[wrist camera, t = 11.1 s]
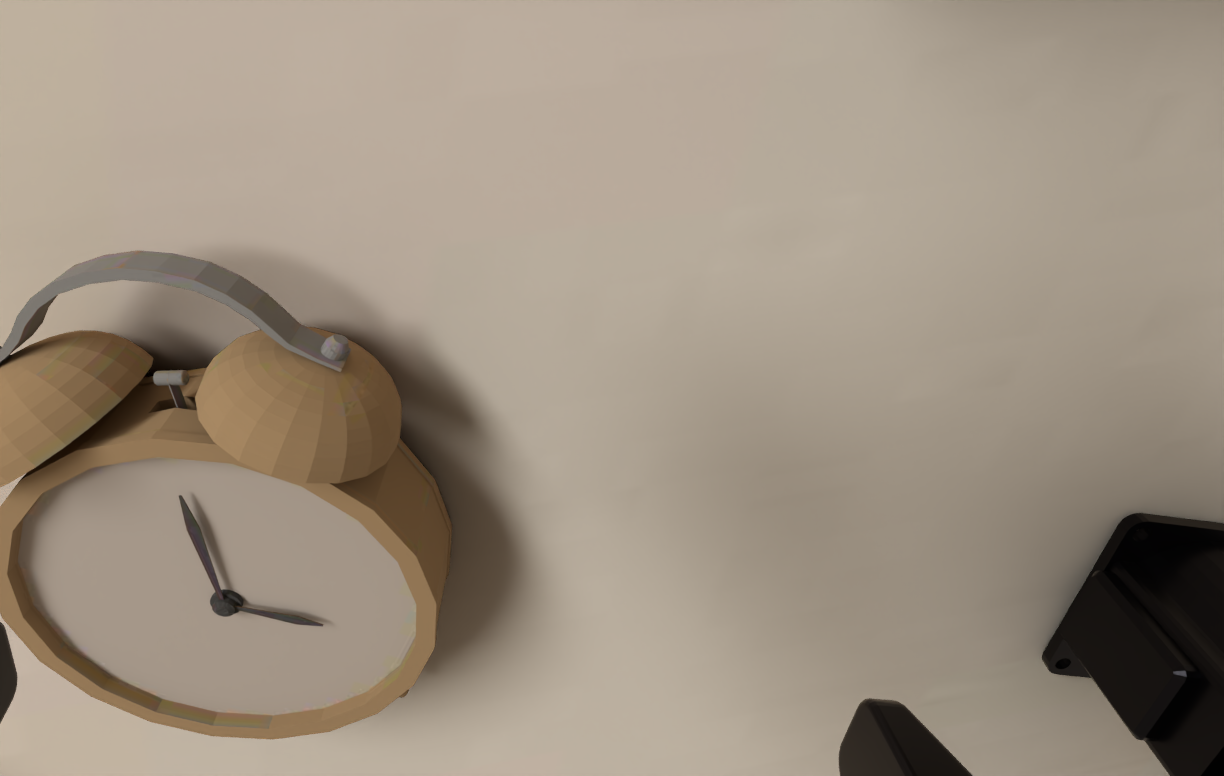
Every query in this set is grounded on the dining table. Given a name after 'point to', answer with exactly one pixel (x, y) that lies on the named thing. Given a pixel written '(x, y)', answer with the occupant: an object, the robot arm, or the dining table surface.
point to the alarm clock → (216, 518)
